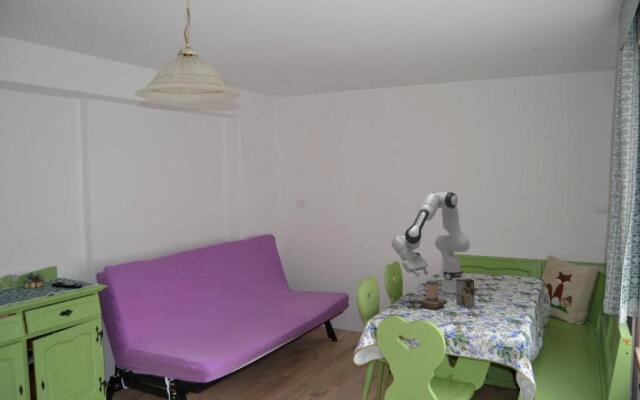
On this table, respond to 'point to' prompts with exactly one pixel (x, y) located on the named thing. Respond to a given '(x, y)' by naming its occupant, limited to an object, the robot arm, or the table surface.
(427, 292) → the housing
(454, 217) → the robot arm
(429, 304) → the walnut stand
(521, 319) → the table surface
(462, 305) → the coffee box
